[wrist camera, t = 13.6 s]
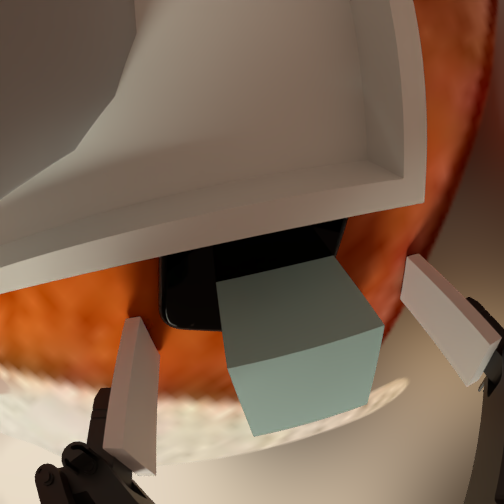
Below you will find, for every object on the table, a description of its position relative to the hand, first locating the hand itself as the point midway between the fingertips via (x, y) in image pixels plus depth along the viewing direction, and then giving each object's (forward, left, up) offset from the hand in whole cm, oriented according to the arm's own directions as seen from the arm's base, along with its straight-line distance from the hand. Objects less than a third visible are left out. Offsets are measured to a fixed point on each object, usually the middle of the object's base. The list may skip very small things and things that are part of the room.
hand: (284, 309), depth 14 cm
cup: (-7, +13, +2) cm, 15 cm away
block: (0, 0, 0) cm, 0 cm away
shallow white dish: (-7, +18, 0) cm, 19 cm away
